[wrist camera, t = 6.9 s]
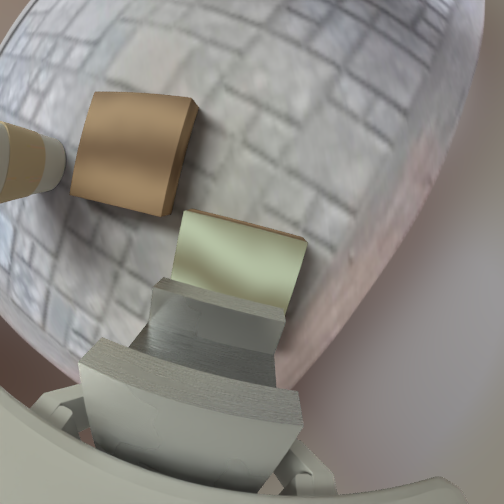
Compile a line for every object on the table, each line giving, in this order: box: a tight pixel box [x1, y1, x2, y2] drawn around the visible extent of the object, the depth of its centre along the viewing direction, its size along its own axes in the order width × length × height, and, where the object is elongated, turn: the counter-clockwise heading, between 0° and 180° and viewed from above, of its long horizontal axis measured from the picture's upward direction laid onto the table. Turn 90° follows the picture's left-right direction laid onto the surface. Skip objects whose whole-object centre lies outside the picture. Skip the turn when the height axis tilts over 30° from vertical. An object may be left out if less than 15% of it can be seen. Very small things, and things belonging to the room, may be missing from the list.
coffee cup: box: [0, 121, 66, 203], centre depth 18 cm, size 9×9×15 cm
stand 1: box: [69, 92, 199, 217], centre depth 23 cm, size 11×11×3 cm
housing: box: [78, 277, 304, 494], centre depth 9 cm, size 9×5×6 cm, turn 165°
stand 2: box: [171, 209, 308, 316], centre depth 26 cm, size 11×11×3 cm
